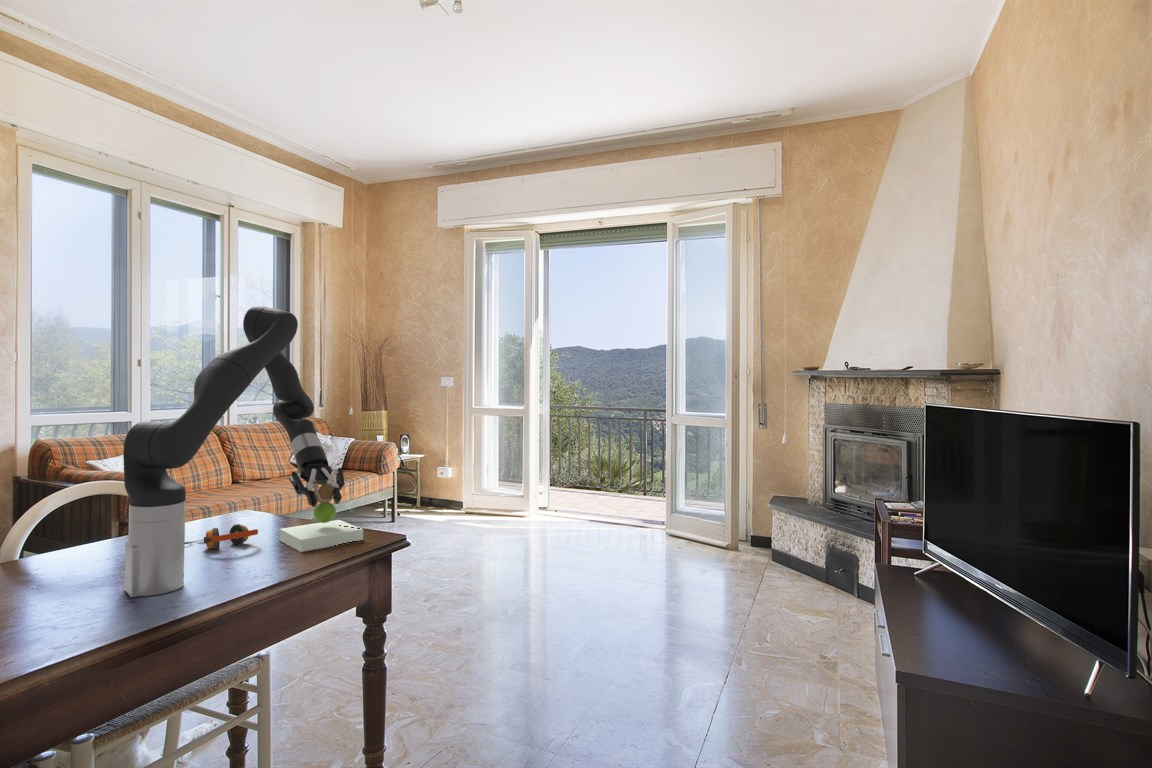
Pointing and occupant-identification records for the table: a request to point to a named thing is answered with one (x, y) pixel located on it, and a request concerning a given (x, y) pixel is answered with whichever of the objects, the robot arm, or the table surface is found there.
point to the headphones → (227, 536)
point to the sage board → (319, 535)
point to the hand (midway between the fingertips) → (326, 503)
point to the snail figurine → (324, 503)
